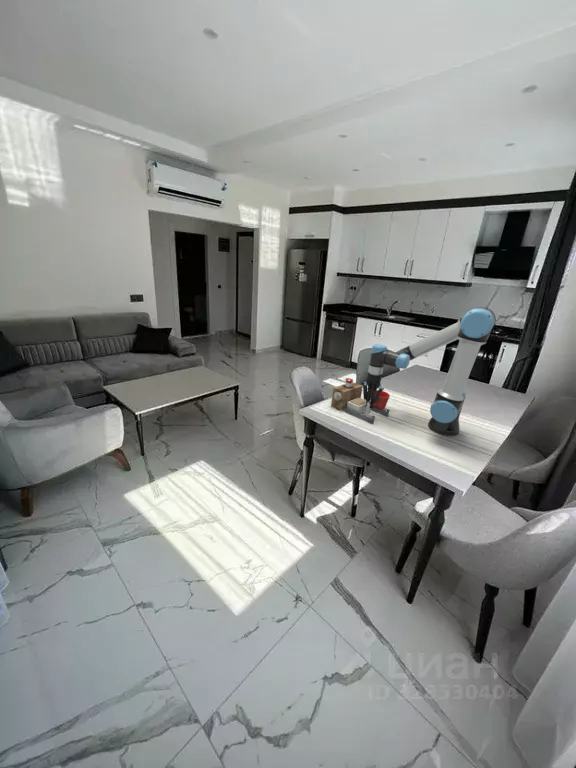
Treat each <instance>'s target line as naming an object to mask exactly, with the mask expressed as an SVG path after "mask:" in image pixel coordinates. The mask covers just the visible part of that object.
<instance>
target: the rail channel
mask: <svg viewBox="0 0 576 768" xmlns="http://www.w3.org/2000/svg"><path fill="white" fill-rule="evenodd" d="M342 412H344V413H346V414H348V415H351V416H352V417H356V418H357V419H360V420H362V421H364V422H366V423H368V424H370V425H374V424H375V418H376V416H374V415H371V417H370V416H367V415H365V414H363V413H361V414H360V413H358V412H356V411H354V410H351V409H349V408H347V407H343V411H342ZM371 412H373V413H376V414H379V415H381V416H383V417H386V418H389V414H390V409H389V408H386V411H385V409H384V410H381V409H379V408H376V407H374V406H373V408H371Z"/></svg>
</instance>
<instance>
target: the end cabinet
mask: <svg viewBox="0 0 576 768" xmlns="http://www.w3.org/2000/svg"><path fill="white" fill-rule="evenodd" d="M345 385H346V383H344V384H340V385H338V386H334V387H333V388H332V396H331V403H330V407H332V408H333V409H335V410H338V411H339V412H344V411H343V407H347V402H349V401H351V400H354V399H357V398H361V399H362V394H363V385H362V384H358V383H356V382H354V381H353V382H352V387H351V388H350V389H348V388H346V387H345Z"/></svg>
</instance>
